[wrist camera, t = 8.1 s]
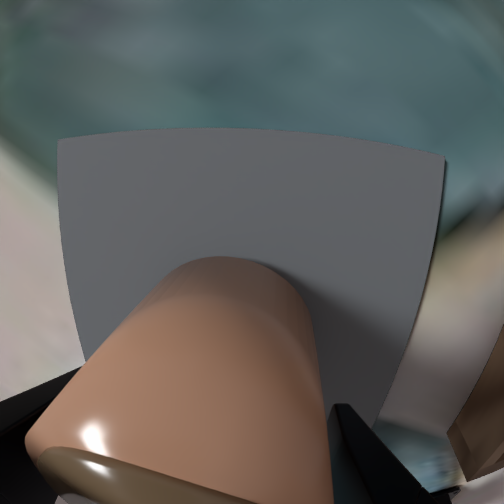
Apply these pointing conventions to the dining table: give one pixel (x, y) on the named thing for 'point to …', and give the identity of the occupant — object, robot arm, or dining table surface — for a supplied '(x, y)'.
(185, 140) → the mat
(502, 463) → the frame
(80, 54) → the dining table surface
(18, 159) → the dining table surface
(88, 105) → the dining table surface
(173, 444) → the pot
